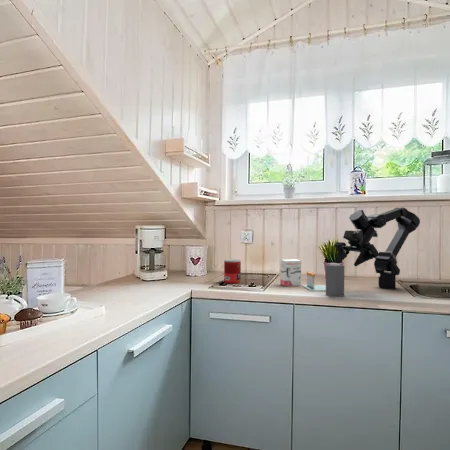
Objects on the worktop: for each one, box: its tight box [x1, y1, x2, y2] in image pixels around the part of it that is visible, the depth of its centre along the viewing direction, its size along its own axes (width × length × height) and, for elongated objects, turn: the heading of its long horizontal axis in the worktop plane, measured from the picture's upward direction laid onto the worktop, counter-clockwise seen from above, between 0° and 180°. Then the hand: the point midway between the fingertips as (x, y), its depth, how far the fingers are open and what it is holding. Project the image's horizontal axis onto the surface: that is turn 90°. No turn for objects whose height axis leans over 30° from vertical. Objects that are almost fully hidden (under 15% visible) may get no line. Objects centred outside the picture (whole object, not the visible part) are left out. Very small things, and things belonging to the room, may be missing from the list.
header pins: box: [306, 271, 316, 289], centre depth 156 cm, size 2×8×6 cm, turn 4°
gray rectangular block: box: [325, 262, 345, 298], centre depth 142 cm, size 5×5×13 cm
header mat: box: [301, 284, 326, 292], centre depth 156 cm, size 13×13×1 cm
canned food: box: [223, 258, 242, 285], centre depth 171 cm, size 8×8×11 cm
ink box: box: [280, 258, 302, 287], centre depth 164 cm, size 9×5×12 cm, turn 105°
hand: (345, 264), depth 145 cm, fingers open, 9 cm apart
